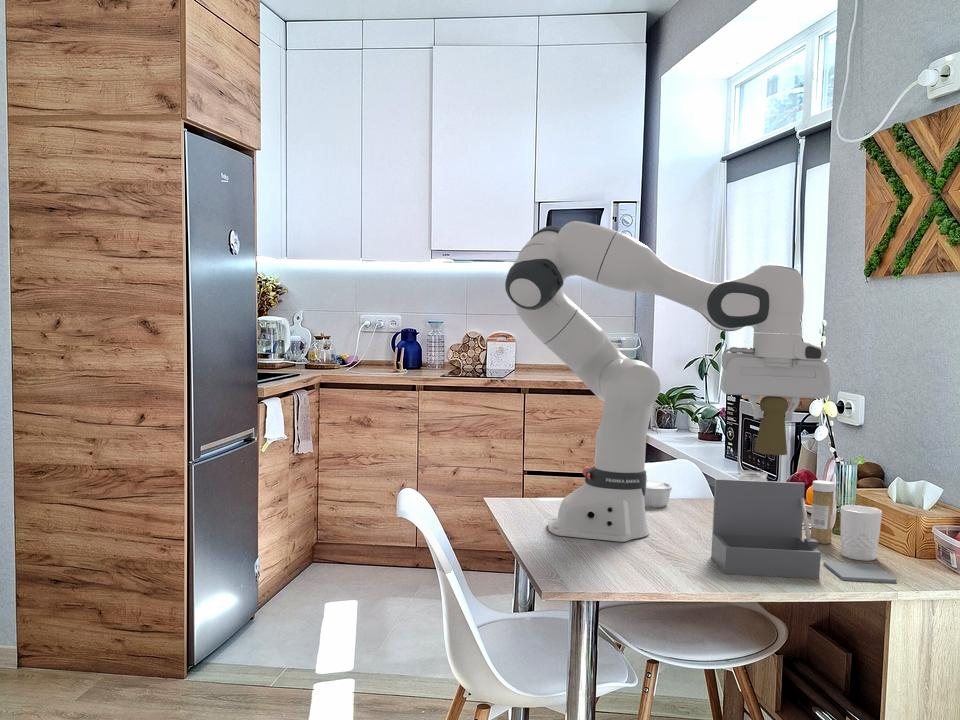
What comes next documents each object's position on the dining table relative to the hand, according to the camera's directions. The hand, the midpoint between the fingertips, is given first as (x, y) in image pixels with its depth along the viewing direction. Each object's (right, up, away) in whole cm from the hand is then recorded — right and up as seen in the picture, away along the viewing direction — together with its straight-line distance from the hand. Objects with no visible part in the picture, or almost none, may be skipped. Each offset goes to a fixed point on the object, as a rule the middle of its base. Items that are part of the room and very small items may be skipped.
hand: (772, 419), depth 164 cm
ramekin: (-13, -26, +57) cm, 64 cm away
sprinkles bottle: (+19, -29, +24) cm, 42 cm away
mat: (+17, -30, 0) cm, 34 cm away
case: (-1, -29, +2) cm, 29 cm away
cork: (0, -7, 0) cm, 7 cm away
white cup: (+22, -30, +12) cm, 39 cm away
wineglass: (+9, -28, +40) cm, 49 cm away
